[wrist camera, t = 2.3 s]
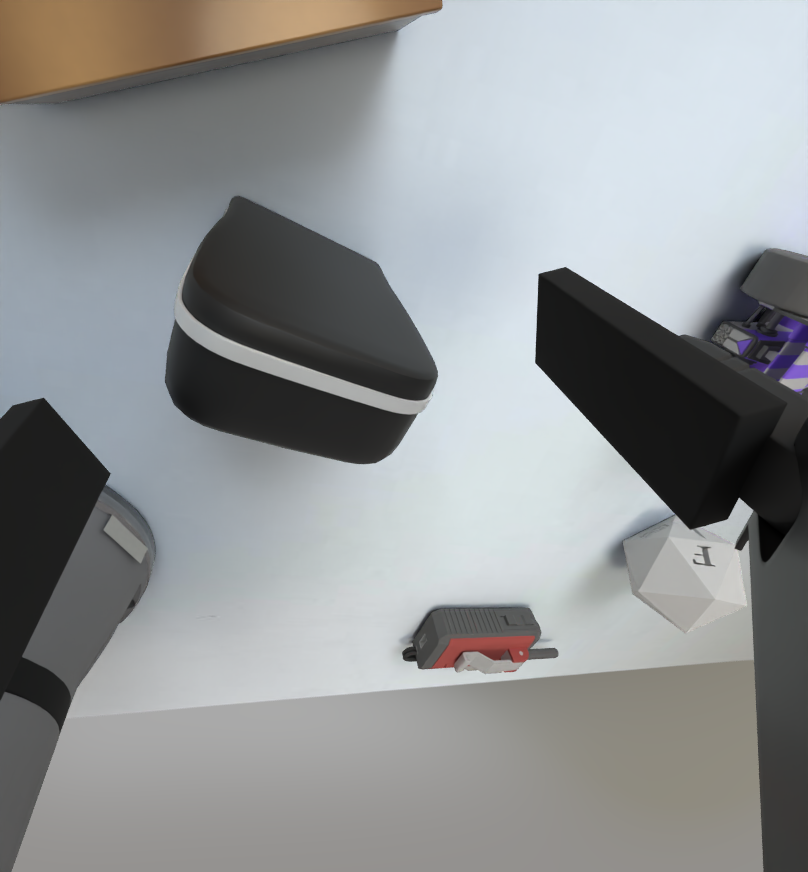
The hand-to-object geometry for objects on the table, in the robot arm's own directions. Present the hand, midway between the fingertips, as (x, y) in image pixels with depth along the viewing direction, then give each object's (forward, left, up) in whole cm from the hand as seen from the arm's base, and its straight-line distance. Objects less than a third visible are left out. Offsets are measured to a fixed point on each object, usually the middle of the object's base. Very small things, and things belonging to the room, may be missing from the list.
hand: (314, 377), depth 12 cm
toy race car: (+29, -11, -10) cm, 32 cm away
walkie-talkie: (+8, -40, -7) cm, 41 cm away
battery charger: (0, 0, -10) cm, 10 cm away
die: (+24, -31, -10) cm, 40 cm away
